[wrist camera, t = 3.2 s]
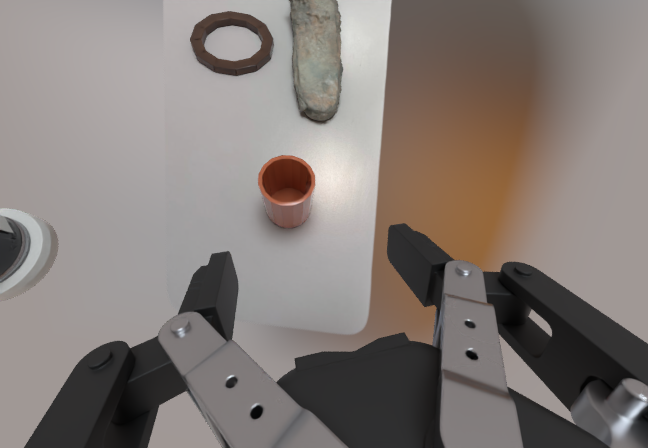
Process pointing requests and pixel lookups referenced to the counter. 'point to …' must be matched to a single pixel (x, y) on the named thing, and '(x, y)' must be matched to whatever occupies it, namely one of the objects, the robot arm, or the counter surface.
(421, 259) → the robot arm
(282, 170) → the cup
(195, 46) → the ring
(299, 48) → the elongated rock
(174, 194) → the counter surface
